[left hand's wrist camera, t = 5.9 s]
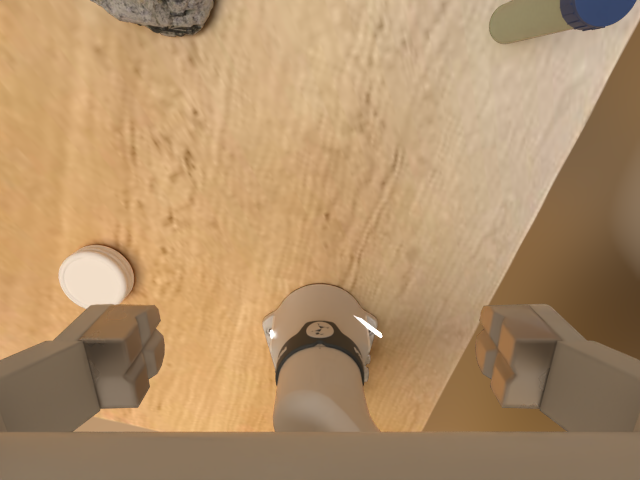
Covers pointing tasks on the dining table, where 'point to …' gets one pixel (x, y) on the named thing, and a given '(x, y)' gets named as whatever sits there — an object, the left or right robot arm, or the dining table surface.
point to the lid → (594, 12)
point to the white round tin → (96, 276)
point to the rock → (161, 14)
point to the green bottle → (526, 20)
